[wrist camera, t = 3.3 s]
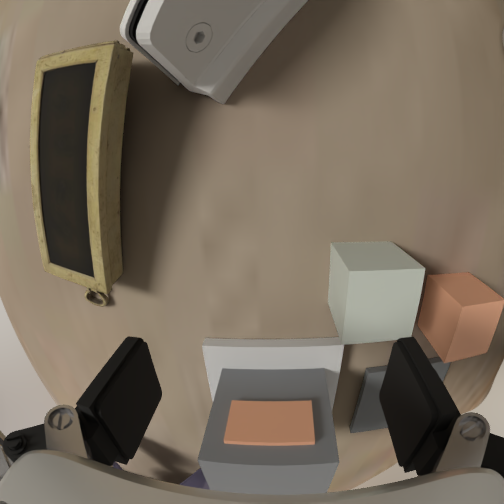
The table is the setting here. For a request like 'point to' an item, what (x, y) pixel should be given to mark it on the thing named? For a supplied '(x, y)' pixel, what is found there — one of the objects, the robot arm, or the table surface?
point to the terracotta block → (459, 315)
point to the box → (80, 162)
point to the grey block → (373, 291)
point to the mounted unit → (271, 415)
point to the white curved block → (205, 38)
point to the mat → (368, 402)
